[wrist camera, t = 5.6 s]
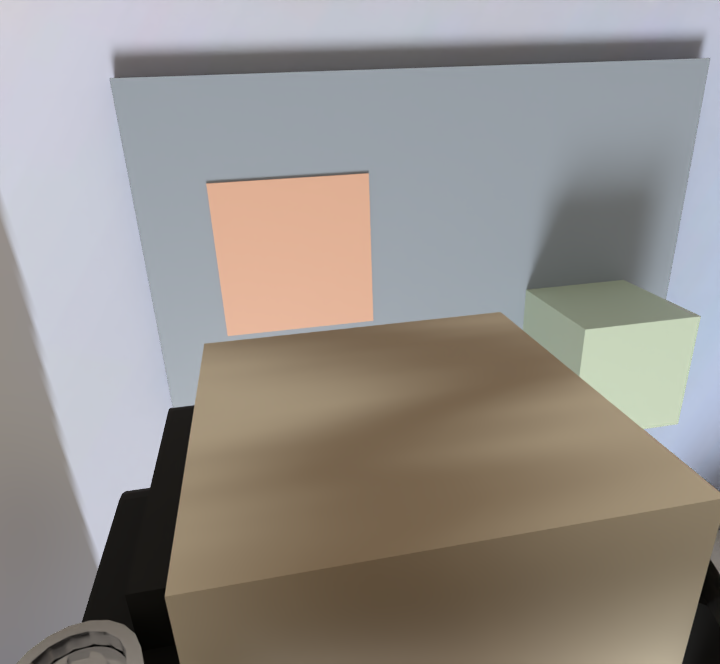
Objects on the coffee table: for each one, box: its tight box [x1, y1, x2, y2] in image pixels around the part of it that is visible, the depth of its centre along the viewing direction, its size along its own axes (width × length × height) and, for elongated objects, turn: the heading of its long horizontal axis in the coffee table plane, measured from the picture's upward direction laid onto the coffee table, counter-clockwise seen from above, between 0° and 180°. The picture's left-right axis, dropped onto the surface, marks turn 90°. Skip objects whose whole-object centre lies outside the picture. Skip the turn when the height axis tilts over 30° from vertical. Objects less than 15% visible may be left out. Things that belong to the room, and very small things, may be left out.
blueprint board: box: [110, 58, 710, 408], centre depth 25 cm, size 24×15×1 cm, turn 92°
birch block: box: [165, 312, 720, 664], centre depth 8 cm, size 5×5×5 cm
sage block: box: [523, 280, 701, 429], centre depth 25 cm, size 5×5×5 cm
